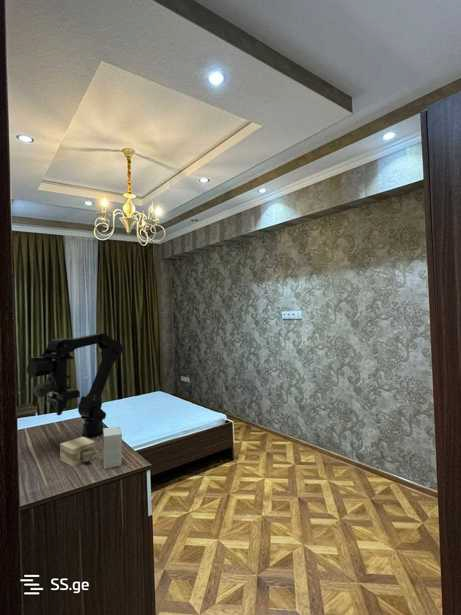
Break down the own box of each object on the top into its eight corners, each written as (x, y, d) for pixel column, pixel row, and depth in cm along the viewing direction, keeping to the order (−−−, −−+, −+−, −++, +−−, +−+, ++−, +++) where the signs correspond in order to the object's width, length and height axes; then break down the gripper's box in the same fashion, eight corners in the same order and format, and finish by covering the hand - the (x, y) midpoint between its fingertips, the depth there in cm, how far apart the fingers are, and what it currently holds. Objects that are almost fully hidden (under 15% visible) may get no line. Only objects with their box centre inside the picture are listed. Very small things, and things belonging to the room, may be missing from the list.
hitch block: (82, 451, 115) (82, 436, 115) (95, 457, 110) (95, 441, 110) (60, 460, 108) (60, 443, 108) (72, 466, 104) (72, 449, 104)
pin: (75, 451, 114) (75, 440, 114) (95, 460, 107) (95, 448, 107) (63, 455, 111) (63, 443, 111) (83, 465, 104) (83, 452, 104)
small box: (102, 459, 109) (102, 428, 109) (120, 456, 111) (120, 425, 111) (103, 469, 102) (103, 436, 102) (121, 466, 104) (122, 433, 104)
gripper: (24, 373, 118) (24, 416, 118) (48, 379, 107) (48, 426, 107) (55, 369, 127) (55, 408, 127) (80, 374, 116) (80, 417, 116)
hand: (59, 415), depth 119 cm, fingers closed
